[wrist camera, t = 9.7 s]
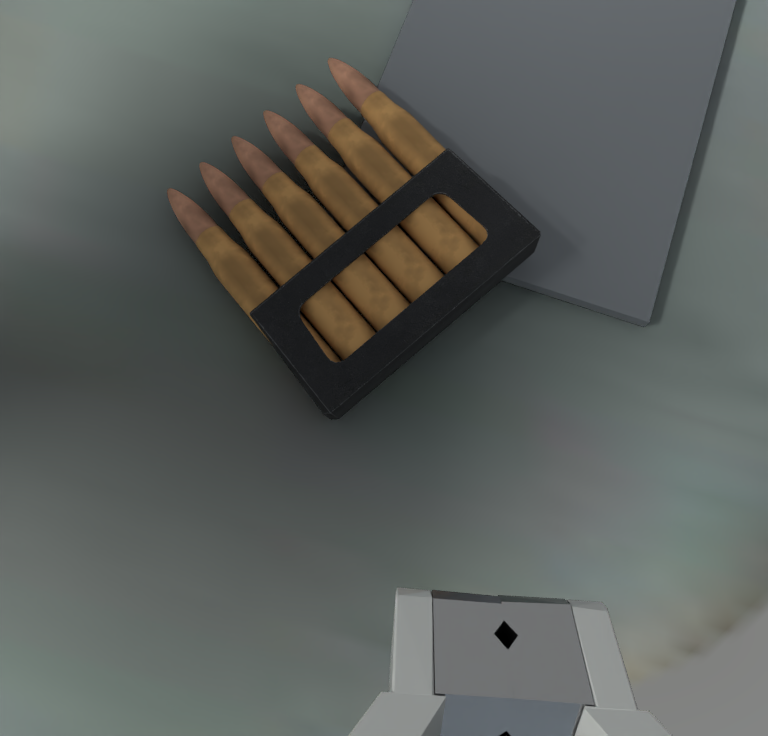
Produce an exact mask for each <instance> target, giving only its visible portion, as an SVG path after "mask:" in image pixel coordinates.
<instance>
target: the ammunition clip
mask: <svg viewBox="0 0 768 736" xmlns="http://www.w3.org/2000/svg"><path fill="white" fill-rule="evenodd" d="M328 65H329V68H330V71H331V73H332V75H333V77H334V78H335V80H336V82H337V84H338V85H339V87H340V88H341V90H342V91H343V93H344V94H345V95H346V97H347V98H348V99H349V101H350V102H351V103H352V104H353V105H354V106H355V107H356V108H357V110H358V111H359V112H360V113H361V115H362V116H363V117H364V118H365V120H366V121H367V122H368V123H369V124H370V125H371V126H372V128H373V129H374V131H375V132H376V134H377V136H378V137H379V139H380V140H381V142H382V143H383V144H384V145H385V147H386V148H387V149H388V150H389V151H390V152H391V153H392V154H393V155H394V156H395V157H396V158H397V159H398V160H399V161H400V162H401V163H402V165H403V166H404V167H405V168H406V169H407V170H408V171H409V172H410V173H411V174H412V175H413V177H411V175H410V174H409V173H408V172H407V171H406V170H405V169H404V168H403V167H402V166H401V165H400V164H399V163H398V162H397V161H396V160H395V159H394V158H393V157H392V156H391V155H390V154H389V153H388V152H387V151H386V150H385V149H384V148H383V147H382V145H381V144H380V143H379V142H377V141H376V140H375V139H374V138H372V137H371V136H370V135H368V134H367V133H365V132H364V131H362V130H361V129H360V128H359V127H358V126H357V125H356V124H355V123H354V122H352V121H351V120H350V119H349V118H347V117H346V116H345V115H344V114H343V113H342V112H341V111H340V110H339V109H338V108H337V107H336V106H335V105H334V104H333V103H332V102H330V101H329V100H328V99H327V98H325V97H324V96H323V95H321V94H320V93H318V92H316V91H315V90H313V89H311V88H309V87H307V86H305V85H302V84H297V85H296V91H297V95H298V97H299V100H300V102H301V103H302V105H303V107H304V109H305V111H306V112H307V114H308V115H309V117H310V118H311V119H312V121H313V122H314V123H315V125H316V126H317V127H318V129H319V130H320V131H321V132H322V133H323V134H324V135H325V137H326V138H327V139H328V141H329V142H330V143H331V144H332V146H333V147H334V148H335V149H336V150H337V151H338V153H339V154H340V156H341V157H342V159H343V161H344V162H345V164H346V165H347V167H348V168H349V170H350V171H351V172H352V173H353V174H354V175H355V177H356V178H357V179H358V180H359V181H360V182H361V183H362V184H363V185H364V186H365V187H366V188H367V190H368V191H369V192H370V193H371V194H372V195H373V196H374V197H375V198H376V199H377V200H378V202H379V203H380V205H378V204H377V203H376V202H375V201H374V200H373V199H372V198H371V197H370V196H369V195H368V194H367V193H366V192H365V191H364V190H363V188H362V187H361V186H360V185H359V184H358V183H357V182H356V181H355V180H354V179H353V178H352V177H351V176H350V175H349V174H348V172H347V171H346V170H345V169H344V168H342V167H341V166H340V165H339V164H337V163H336V162H334V161H333V160H331V159H330V158H329V157H327V156H326V155H325V154H324V153H323V152H322V151H321V150H320V149H319V148H318V147H317V146H315V145H314V144H313V143H312V142H311V141H310V140H309V138H308V137H307V136H306V135H305V134H304V133H302V132H301V131H300V130H299V129H298V128H297V127H296V126H294V125H293V124H292V123H290V122H289V121H288V120H286V119H285V118H283V117H281V116H280V115H278V114H276V113H274V112H271V111H268V110H265V111H264V112H263V115H264V119H265V122H266V125H267V127H268V129H269V131H270V133H271V135H272V136H273V138H274V140H275V141H276V143H277V144H278V146H279V147H280V148H281V150H282V151H283V152H284V154H285V155H286V156H287V157H288V158H289V160H290V161H291V162H292V163H293V164H294V165H295V168H296V169H297V170H298V171H299V172H300V174H301V175H302V176H303V177H304V178H305V180H306V181H307V183H308V185H309V187H310V188H311V190H312V192H313V193H314V195H315V196H316V197H317V198H318V199H319V201H320V202H321V203H322V204H323V205H324V206H325V207H326V208H327V210H328V211H329V212H330V213H331V214H332V215H333V216H334V217H335V219H336V220H337V221H338V222H339V223H340V224H341V225H342V226H343V227H344V229H345V230H346V231H347V232H346V233H345V232H344V231H343V230H342V229H341V228H340V227H339V226H338V224H337V223H336V222H335V221H334V220H333V219H332V218H331V217H330V216H329V215H328V213H327V212H326V211H325V210H324V209H323V208H322V207H321V206H320V205H319V204H318V203H317V201H316V200H315V199H314V198H313V197H312V196H311V195H310V194H308V193H307V192H306V191H305V190H303V189H302V188H300V187H299V186H298V185H296V184H295V183H294V182H293V181H292V180H291V179H290V178H289V177H288V176H287V175H286V174H285V173H284V172H282V171H281V169H280V168H279V167H278V166H277V165H276V164H275V163H274V162H273V161H272V160H271V159H270V158H269V157H268V156H266V155H265V154H264V153H263V152H262V151H261V150H259V149H258V148H257V147H255V146H254V145H253V144H251V143H249V142H248V141H246V140H244V139H242V138H240V137H237V136H233V137H232V139H231V140H232V144H233V148H234V150H235V153H236V155H237V157H238V159H239V161H240V163H241V164H242V166H243V168H244V169H245V171H246V172H247V173H248V175H249V176H250V178H251V179H252V180H253V182H254V183H255V184H256V185H257V186H258V187H259V189H260V190H261V191H262V193H263V195H264V196H265V197H266V198H267V200H268V201H269V202H270V203H271V205H272V206H273V207H274V209H275V211H276V213H277V214H278V216H279V218H280V220H281V221H282V223H283V224H284V225H285V226H286V227H287V229H288V230H289V231H290V232H291V233H292V234H293V235H294V237H295V238H296V239H297V240H298V241H299V242H300V243H301V245H302V246H303V247H304V248H305V249H306V250H307V252H308V253H309V254H310V255H311V256H312V257H313V258H314V259H313V260H311V259H310V257H309V256H308V255H307V254H306V253H305V252H304V251H303V250H302V248H301V247H300V246H299V245H298V244H297V243H296V242H295V241H294V239H293V238H292V237H291V236H290V235H289V234H288V233H287V232H286V230H285V229H284V228H283V227H282V226H281V225H280V224H279V223H278V222H277V221H275V220H274V219H273V218H271V217H270V216H269V215H267V214H266V213H265V212H264V211H263V210H262V209H261V208H260V207H259V206H258V205H257V204H256V203H255V202H254V201H253V200H252V199H250V197H249V196H248V195H247V194H246V193H245V192H244V191H243V190H242V189H241V188H240V187H239V186H238V185H237V184H236V183H235V182H234V181H233V180H231V179H230V178H229V177H228V176H227V175H225V174H224V173H223V172H221V171H220V170H218V169H217V168H215V167H214V166H212V165H210V164H207V163H205V162H201V163H200V165H199V166H200V171H201V174H202V177H203V179H204V181H205V183H206V186H207V187H208V189H209V191H210V193H211V194H212V196H213V197H214V199H215V200H216V202H217V203H218V205H219V206H220V207H221V209H222V210H223V211H224V212H225V214H226V215H227V216H228V217H229V218H230V221H231V222H232V223H233V225H234V226H235V227H236V229H237V230H238V231H239V232H240V234H241V236H242V237H243V239H244V241H245V243H246V245H247V247H248V248H249V250H250V251H251V252H252V253H253V255H254V256H255V257H256V258H257V259H258V260H259V262H260V263H261V264H262V265H263V266H264V268H265V269H266V270H267V271H268V272H269V274H270V275H271V276H272V277H273V278H274V279H275V281H276V282H277V283H278V284H279V285H280V288H278V287H277V286H276V284H275V283H274V282H273V281H272V280H271V279H270V277H269V276H268V275H267V274H266V273H265V272H264V270H263V269H262V268H261V267H260V266H259V265H258V264H257V262H256V261H255V260H254V259H253V258H252V257H251V255H250V254H249V253H248V252H247V251H246V250H245V249H243V248H242V247H241V246H240V245H238V244H237V243H236V242H234V241H233V240H232V239H231V238H230V237H229V236H228V235H227V234H226V233H225V231H224V230H223V229H222V228H221V227H219V226H218V225H217V224H216V223H215V221H214V220H213V219H212V218H211V217H210V216H209V215H208V214H207V213H206V212H205V211H204V210H203V209H202V208H201V207H200V206H199V205H197V204H196V203H195V202H194V201H192V200H191V199H190V198H188V197H187V196H185V195H184V194H182V193H181V192H179V191H177V190H175V189H172V188H169V189H168V190H167V194H168V199H169V202H170V204H171V206H172V209H173V211H174V213H175V215H176V217H177V218H178V220H179V222H180V223H181V225H182V226H183V228H184V229H185V231H186V232H187V234H188V235H189V236H190V238H191V239H192V240H193V241H194V243H195V244H196V246H197V247H198V249H199V250H200V251H201V253H202V254H203V255H204V257H205V258H206V259H207V261H208V263H209V265H210V267H211V269H212V270H213V272H214V274H215V276H216V277H217V278H218V280H219V281H220V282H221V283H222V285H223V286H224V287H225V288H226V290H227V291H228V292H229V293H230V294H231V296H232V297H233V298H234V299H235V301H236V302H237V303H238V304H239V305H240V307H241V308H242V309H243V310H244V312H245V313H246V314H247V315H248V316H249V318H250V319H251V320H252V321H253V322H254V324H255V325H256V326H257V327H258V329H259V330H260V331H261V332H262V333H263V335H264V336H265V337H266V338H267V340H268V341H269V342H270V343H271V344H272V346H273V347H274V348H275V349H276V351H277V352H278V354H279V355H280V356H281V358H282V359H283V360H284V362H285V363H286V364H287V366H288V367H289V368H290V370H291V371H292V372H293V374H294V375H295V376H296V378H297V379H298V380H299V382H300V383H301V384H302V386H303V387H304V388H305V390H306V391H307V393H308V394H309V395H310V397H311V398H312V399H313V401H314V402H315V403H316V405H317V406H318V407H319V409H320V410H321V411H322V413H323V414H324V415H325V416H327V417H328V418H330V419H331V420H332V419H339V418H340V417H341V416H343V415H344V414H345V413H346V412H347V411H348V410H350V409H351V408H352V407H353V406H354V405H355V404H357V403H358V402H359V401H360V400H361V399H363V398H364V397H365V396H366V395H367V394H368V393H370V392H371V391H372V390H373V389H374V388H375V387H377V386H378V385H379V384H380V383H381V382H383V381H384V380H385V379H386V378H387V377H388V376H390V375H391V374H392V373H393V372H394V371H395V370H397V369H398V368H399V367H400V366H401V365H402V364H404V363H405V362H406V361H407V360H408V359H410V358H411V357H412V356H413V355H414V354H415V353H417V352H418V351H419V350H420V349H421V348H422V347H424V346H425V345H426V344H427V343H428V342H430V341H431V340H432V339H433V338H434V337H435V336H437V335H438V334H439V333H440V332H441V331H442V330H444V329H445V328H446V327H447V326H448V325H450V324H451V323H452V322H453V321H454V320H455V319H457V318H458V317H459V316H460V315H461V314H462V313H464V312H465V311H466V310H467V309H468V308H470V307H471V306H472V305H473V304H474V303H475V302H477V301H478V300H479V299H480V298H481V297H482V296H484V295H485V294H486V293H487V292H488V291H490V290H491V289H492V288H493V287H494V286H495V285H497V284H498V283H499V282H500V281H501V280H502V279H504V278H505V277H506V276H507V275H508V274H510V273H511V272H512V271H513V270H514V269H515V268H517V267H518V266H519V265H520V264H521V263H522V262H524V261H525V260H526V259H527V258H528V257H529V256H531V255H532V254H533V253H534V252H535V249H536V247H537V244H538V241H539V239H540V236H541V232H540V231H539V230H538V229H537V228H536V227H535V226H534V225H533V224H532V223H531V222H529V221H528V220H527V219H526V218H525V217H524V216H523V215H522V214H521V213H520V212H519V211H517V210H516V209H515V208H514V207H513V206H512V205H511V204H510V203H509V202H508V201H507V200H505V199H504V198H503V197H502V196H501V195H500V194H499V193H498V192H497V191H496V190H494V189H493V188H492V187H491V186H490V185H489V184H488V183H487V182H486V181H485V180H484V179H482V178H481V177H480V176H479V175H478V174H477V173H476V172H475V171H474V170H473V169H472V168H470V167H469V166H468V165H467V164H466V163H465V162H464V161H463V160H462V159H461V158H460V157H458V156H457V155H456V154H455V153H454V152H453V151H452V150H451V149H450V148H447V149H445V148H444V147H443V146H442V145H441V144H440V143H439V142H438V141H437V140H436V139H435V138H434V137H433V136H432V135H431V134H430V133H429V132H428V131H427V130H426V129H425V128H424V127H423V126H422V125H421V124H420V123H419V122H418V121H417V120H416V119H415V118H414V117H413V116H412V115H411V114H410V113H409V112H407V111H406V110H404V109H403V108H401V107H400V106H398V105H397V104H395V103H394V102H393V101H392V100H391V99H390V98H388V97H387V96H386V95H385V94H384V93H383V92H381V91H380V90H379V89H378V88H377V87H376V86H375V85H374V84H373V83H372V82H371V81H370V80H369V79H367V78H366V77H365V76H364V75H362V74H361V73H360V72H359V71H357V70H356V69H354V68H353V67H351V66H349V65H348V64H346V63H344V62H342V61H340V60H338V59H334V58H329V59H328ZM455 221H456V222H457V223H458V224H459V225H460V226H461V227H462V228H463V229H464V230H465V231H466V232H467V233H468V234H469V235H470V236H471V237H470V236H469V235H468V234H467V233H466V232H465V231H464V230H463V229H462V228H461V227H460V226H459V225H458V224H457V223H456V222H455ZM408 235H410V236H411V237H412V239H413V240H414V241H415V242H416V243H417V244H418V245H419V246H420V247H421V248H422V249H423V250H424V252H425V253H426V254H427V255H428V256H429V257H430V258H431V259H432V260H433V261H434V262H435V264H436V265H437V266H438V267H439V268H440V269H441V270H442V271H443V272H444V273H445V274H446V275H443V274H442V272H441V271H440V270H439V269H438V268H437V267H436V266H435V265H434V264H433V263H432V262H431V261H430V260H429V259H428V258H427V257H426V255H425V254H424V253H423V252H422V251H421V250H420V249H419V248H418V247H417V246H416V245H415V244H414V243H413V242H412V241H411V240H410V238H409V237H408ZM471 238H472V239H473V240H474V241H475V242H476V243H477V244H478V245H479V246H478V245H477V244H476V243H475V242H474V241H473V240H472V239H471ZM374 263H376V264H377V266H378V267H379V268H380V269H381V270H382V271H383V272H384V273H385V274H386V276H387V277H388V278H389V279H390V280H391V281H392V282H393V283H394V285H395V286H396V287H397V288H398V289H399V290H400V291H401V292H402V294H403V295H404V296H405V297H406V298H407V299H408V300H409V301H410V302H411V304H410V303H409V302H408V301H407V300H406V299H405V298H404V297H403V296H402V294H401V293H400V292H399V291H398V290H397V289H396V288H395V287H394V286H393V285H392V284H391V282H390V281H389V280H388V279H387V278H386V277H385V276H384V275H383V274H382V273H381V271H380V270H379V269H378V268H377V267H376V266H375V265H374ZM341 291H342V292H343V293H344V294H345V295H346V296H347V298H348V299H349V300H350V301H351V302H352V303H353V305H354V306H355V307H356V308H357V309H358V310H359V311H360V313H361V314H362V315H363V316H364V317H365V318H366V319H367V321H368V322H369V323H370V324H371V325H372V326H373V328H374V329H375V330H376V331H377V333H376V332H375V331H374V330H373V328H372V327H371V326H370V325H369V324H368V323H367V322H366V321H365V319H364V318H363V317H362V316H361V315H360V314H359V313H358V312H357V310H356V309H355V308H354V307H353V306H352V305H351V304H350V303H349V301H348V300H347V299H346V298H345V297H344V296H343V295H342V293H341ZM309 321H310V322H311V323H312V324H313V326H314V327H315V328H316V329H317V330H318V332H319V333H320V334H321V335H322V336H323V338H324V339H325V340H326V341H327V342H328V343H329V345H330V346H331V347H332V348H333V349H334V351H335V352H336V353H337V354H338V355H339V356H340V358H341V359H342V360H343V361H341V360H340V358H339V357H338V356H337V355H336V354H335V353H334V352H333V350H332V349H331V348H330V347H329V346H328V345H327V343H326V342H325V341H324V340H323V339H322V338H321V336H320V335H319V334H318V333H317V332H316V331H315V330H314V328H313V327H312V326H311V325H310V324H309Z"/></svg>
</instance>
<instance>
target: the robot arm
mask: <svg viewBox="0 0 768 736" xmlns="http://www.w3.org/2000/svg"><path fill="white" fill-rule="evenodd" d="M348 736H672V734H671V733H669V732H668V730H667V729H666V728H665V727H664V726H663V725H662V724H661V723H660V722H659V721H658V720H657V719H656V718H655V717H654V716H653V714H652V713H651V712H650V711H644V710H638V708H637V704H636V701H635V698H634V695H633V691H632V688H631V685H630V681H629V678H628V675H627V671H626V668H625V665H624V661H623V658H622V655H621V652H620V648H619V645H618V642H617V638H616V635H615V632H614V628H613V625H612V622H611V619H610V615H609V612H608V609H607V607H606V606H605V605H604V603H603V602H594V601H579V600H565V599H557V598H540V597H522V596H504V595H498V596H490V595H479V594H469V593H458V592H448V591H437V590H432V591H431V590H423V589H412V588H400V587H397V589H396V598H395V610H394V622H393V634H392V648H391V661H390V676H389V692H384V691H381V692H380V694H379V695H378V696H377V698H376V699H375V700H374V702H373V703H372V704H371V706H370V707H369V708H368V710H367V711H366V712H365V714H364V715H363V717H362V718H361V719H360V721H359V722H358V723H357V725H356V726H355V727H354V729H353V730H352V731H351V733H350V734H349V735H348Z"/></svg>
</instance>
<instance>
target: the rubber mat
mask: <svg viewBox="0 0 768 736" xmlns="http://www.w3.org/2000/svg"><path fill="white" fill-rule="evenodd" d="M735 3H736V0H413V2H412V4H411V7H410V9H409V12H408V14H407V16H406V19H405V21H404V24H403V26H402V28H401V31H400V33H399V36H398V38H397V41H396V43H395V45H394V48H393V50H392V53H391V55H390V58H389V60H388V62H387V65H386V67H385V70H384V72H383V74H382V77H381V79H380V82H379V84H378V87H377V88H378V89H379V90H380V91H381V92H383V93H384V94H385V95H386V96H387V97H388V98H390V99H391V100H392V101H393V102H394V103H395V104H397V105H398V106H400V107H401V108H403V109H404V110H406V111H407V112H409V113H410V114H411V115H412V116H413V117H414V118H415V119H416V120H417V121H418V122H419V123H420V124H421V125H422V126H423V127H424V128H425V129H426V130H427V131H428V132H429V133H430V134H431V135H432V136H433V137H434V138H435V139H436V140H437V141H438V142H439V143H440V144H441V145H442V146H443V147H444V148H445V149H447V148H450V149H451V150H452V151H453V152H454V153H455V154H456V155H457V156H458V157H460V158H461V159H462V160H463V161H464V162H465V163H466V164H467V165H468V166H469V167H470V168H472V169H473V170H474V171H475V172H476V173H477V174H478V175H479V176H480V177H481V178H482V179H484V180H485V181H486V182H487V183H488V184H489V185H490V186H491V187H492V188H493V189H494V190H496V191H497V192H498V193H499V194H500V195H501V196H502V197H503V198H504V199H505V200H507V201H508V202H509V203H510V204H511V205H512V206H513V207H514V208H515V209H516V210H517V211H519V212H520V213H521V214H522V215H523V216H524V217H525V218H526V219H527V220H528V221H529V222H531V223H532V224H533V225H534V226H535V227H536V228H537V229H538V230H539V231H540V232H541V236H540V239H539V241H538V244H537V247H536V249H535V252H534V253H533V254H532V255H531V256H529V257H528V258H527V259H526V260H525V261H524V262H522V263H521V264H520V265H519V266H518V267H517V268H515V269H514V270H513V271H512V272H511V273H510V274H508V275H507V276H506V277H505V278H504V279H502V281H505V282H508V283H511V284H514V285H517V286H520V287H523V288H526V289H529V290H532V291H535V292H538V293H541V294H544V295H548V296H551V297H554V298H557V299H560V300H563V301H566V302H569V303H572V304H575V305H578V306H581V307H584V308H587V309H590V310H593V311H597V312H600V313H603V314H606V315H609V316H612V317H615V318H618V319H621V320H624V321H627V322H630V323H633V324H636V325H639V326H642V327H644V326H646V325H647V324H648V323H649V322H650V318H651V315H652V311H653V307H654V304H655V300H656V296H657V293H658V289H659V285H660V281H661V278H662V274H663V270H664V267H665V263H666V259H667V255H668V252H669V248H670V244H671V241H672V237H673V233H674V230H675V226H676V222H677V218H678V215H679V211H680V207H681V204H682V200H683V196H684V192H685V189H686V185H687V181H688V178H689V174H690V170H691V167H692V163H693V159H694V155H695V152H696V148H697V144H698V141H699V137H700V133H701V129H702V126H703V122H704V118H705V115H706V111H707V107H708V103H709V100H710V96H711V92H712V89H713V85H714V81H715V78H716V74H717V70H718V66H719V63H720V59H721V55H722V52H723V48H724V44H725V40H726V37H727V33H728V29H729V26H730V22H731V18H732V15H733V11H734V7H735ZM360 129H361V130H362V131H364V132H365V133H367V134H368V135H370V136H371V137H372V138H374V139H375V140H376V141H377V142H379V143H380V144H381V145H382V147H383V148H384V149H385V150H386V151H387V152H388V153H389V154H390V155H391V156H392V157H393V158H394V159H395V160H396V161H397V162H398V163H399V164H400V165H401V166H402V167H403V168H404V169H405V170H406V171H407V172H408V173H409V174H410V175H411V177H413V175H412V174H411V173H410V172H409V171H408V170H407V169H406V168H405V167H404V166H403V165H402V163H401V162H400V161H399V160H398V159H397V158H396V157H395V156H394V155H393V154H392V153H391V152H390V151H389V150H388V149H387V148H386V147H385V145H384V144H383V143H382V142H381V140H380V139H379V137H378V136H377V134H376V132H375V131H374V129H373V128H372V126H371V125H370V124H369V123H368V122H367V121H366V120H365V118H364V120H363V123H362V125H361V128H360ZM344 169H345V170H346V171H347V172H348V174H349V175H350V176H351V177H352V178H353V179H354V180H355V181H356V182H357V183H358V184H359V185H360V186H361V187H362V188H363V190H364V191H365V192H366V193H367V194H368V195H369V196H370V197H371V198H372V199H373V200H374V201H375V202H376V203H377V204H378V205H380V203H379V202H378V200H377V199H376V198H375V197H374V196H373V195H372V194H371V193H370V192H369V191H368V190H367V188H366V187H365V186H364V185H363V184H362V183H361V182H360V181H359V180H358V179H357V178H356V177H355V175H354V174H353V173H352V172H351V171H350V170H349V168H348V167H347V165H346V164H345V166H344ZM326 212H327V213H328V215H329V216H330V217H331V218H332V219H333V220H334V221H335V222H336V223H337V224H338V226H339V227H340V228H342V229H344V227H343V226H342V225H341V224H340V223H339V222H338V221H337V220H336V219H335V217H334V216H333V215H332V214H331V213H330V212H329V211H328V210H326ZM455 222H456V221H455ZM456 223H457V222H456ZM457 224H458V223H457ZM458 225H459V224H458ZM459 226H460V225H459ZM460 227H461V226H460ZM461 228H462V227H461ZM462 229H463V228H462ZM463 230H464V229H463ZM464 231H465V230H464ZM465 232H466V231H465ZM466 233H467V232H466ZM467 234H468V233H467ZM468 235H469V234H468ZM469 236H470V235H469ZM408 237H409V238H410V240H411V241H412V242H413V243H414V244H415V245H416V246H417V247H418V248H419V249H420V250H421V251H422V252H423V253H424V254H425V255H426V256H428V255H427V254H426V253H425V252H424V250H423V249H422V248H421V247H420V246H419V245H418V244H417V243H416V242H415V241H414V240H413V239H412V237H411V236H410V235H408ZM470 237H471V236H470ZM471 239H472V238H471ZM472 240H473V239H472ZM473 241H474V240H473ZM474 242H475V241H474ZM475 243H476V242H475ZM476 244H477V243H476ZM477 245H478V244H477ZM478 246H479V245H478ZM428 257H429V256H428Z"/></svg>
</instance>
